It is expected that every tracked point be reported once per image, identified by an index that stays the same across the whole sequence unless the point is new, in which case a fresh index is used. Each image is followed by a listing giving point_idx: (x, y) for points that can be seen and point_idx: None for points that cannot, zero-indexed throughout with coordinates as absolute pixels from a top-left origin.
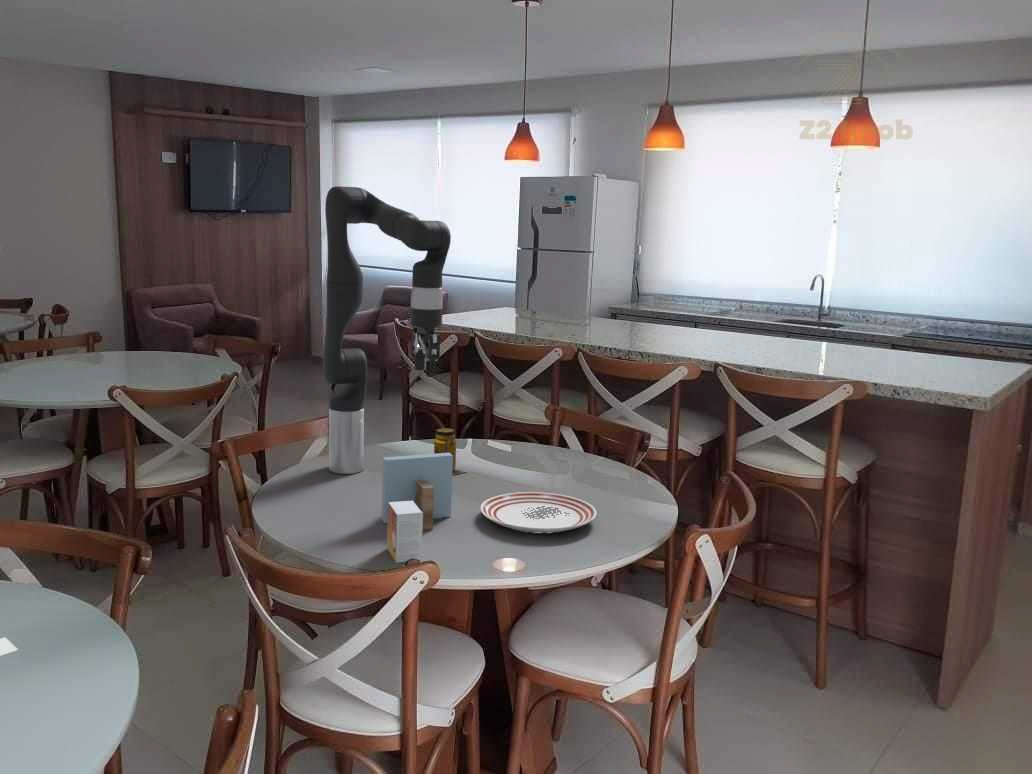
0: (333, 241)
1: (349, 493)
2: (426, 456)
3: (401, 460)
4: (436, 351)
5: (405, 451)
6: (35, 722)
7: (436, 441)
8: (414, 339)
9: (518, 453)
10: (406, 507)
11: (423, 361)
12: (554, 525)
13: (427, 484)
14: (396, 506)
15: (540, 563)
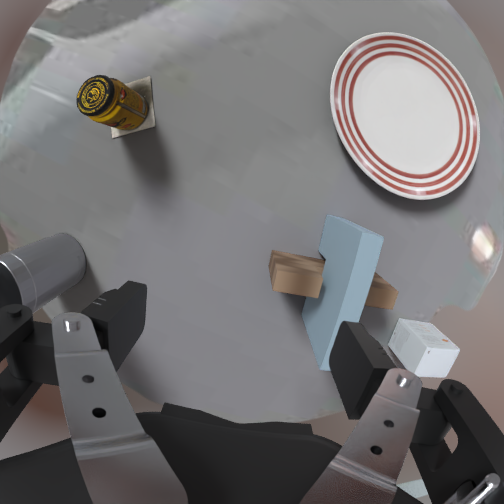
0: None
1: (169, 306)
2: (361, 293)
3: None
4: (456, 427)
5: (24, 136)
6: (417, 494)
7: (103, 120)
8: (6, 428)
9: None
10: (439, 362)
11: (127, 309)
12: (444, 121)
13: (381, 294)
14: (429, 372)
15: (495, 213)
